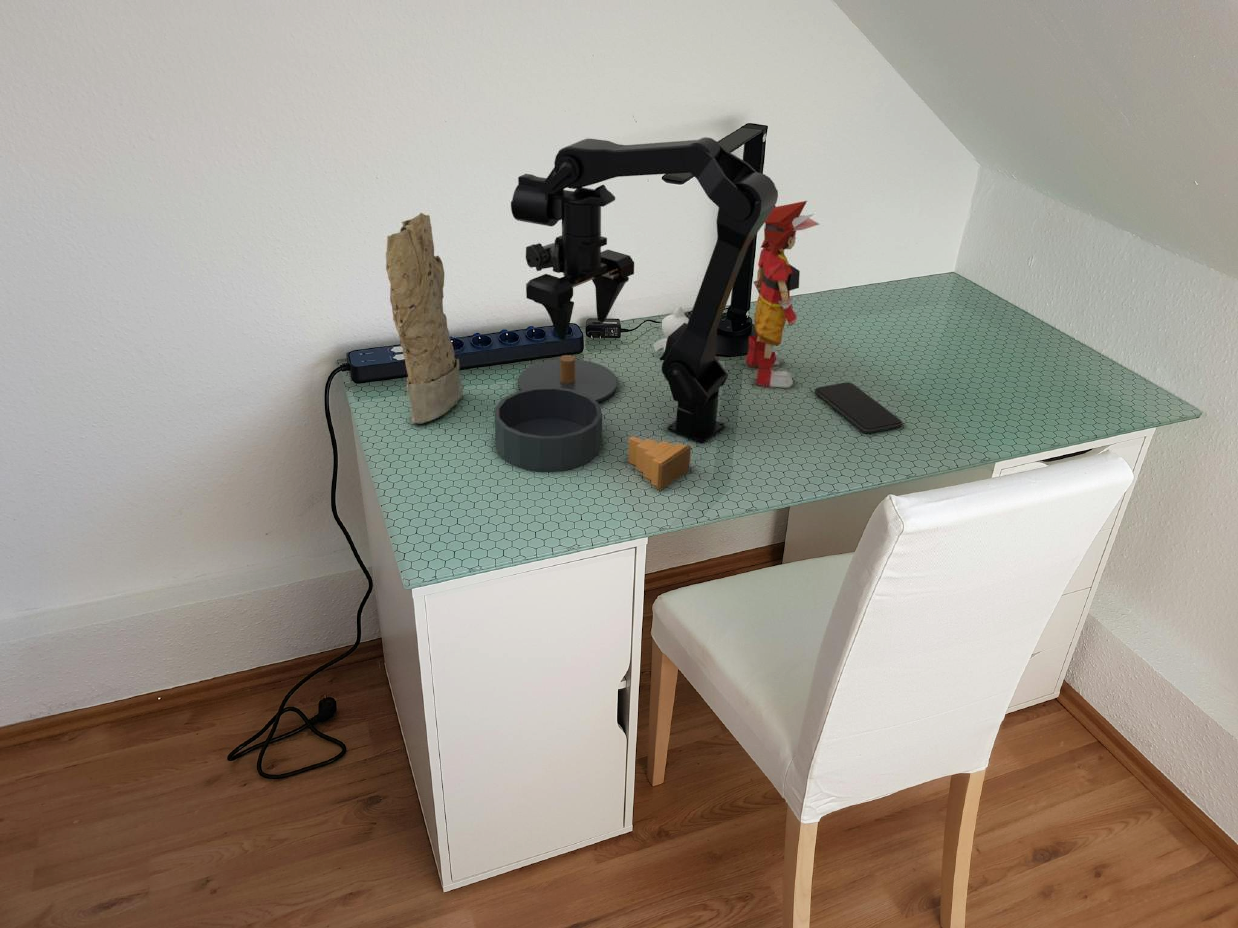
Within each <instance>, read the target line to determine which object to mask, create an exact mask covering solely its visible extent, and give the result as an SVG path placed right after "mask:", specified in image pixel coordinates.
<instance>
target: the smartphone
mask: <svg viewBox="0 0 1238 928" xmlns="http://www.w3.org/2000/svg"><path fill="white" fill-rule="evenodd" d="M814 393H815V394H816V395H817V396H818V397H819V398H820V399H822V400H823V401H824V402H825V403H826V404H828V406H830V407H832V409H834V410H835V411H836V412H838V413H839V414H840V415H841V416H842V417H843V418H845V419H846V420H847V421H848V422H850V423H851V424H853V425H854V426H855V427H856V428H857V429H859V430H860V431H861V432H862V433H864V434H865V433H866V434H873V433H877V432H882V431H886V430H891V429H897V428H900V427H902V426H903V424H904V423H903V421H902V420H901V419H900V418H899V417H898V416H897V415H895V414H894V413H892V412H891V411H890V410H889V409H887V408H886V407H884V406H883V405H882V404H880V403H879V402H878V401H876V400H875V399H874V398H873V397H871V396H870V395H869V394H868V393H866V392H865V391H864V390H862V389H861V388H860V387H858V386H857V385H856V384H854V383H853V382H849V381H846V382H845V381H844V382H839V383H834V384H829V385H824V386H823V385H822V386H818V387H815V389H814Z"/></svg>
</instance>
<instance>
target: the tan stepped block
mask: <svg viewBox="0 0 1238 928" xmlns="http://www.w3.org/2000/svg"><path fill="white" fill-rule="evenodd" d="M691 453H692V446H691V445H689V444H687V445H684V444H682V443H679V442H676V444H673V443H670V442H667V441H665V440H661V441H659V442H657V441H655V440H654V439H651V438H646V439H644V440H643V439H642V438H639V437H636V436H633V435H632V436H630V437H629V438H628V455H627V456H628V459H627V462H628V463H629V464H631V465H634V466H635V470H636V471H638V472H641V473H642V477H643V478H645V479H646V480H648V481H650V484H651V486H654V487H656V489H657V490H658V491H660V492H661V491H662V490H664V489H665V488H667V487H668V486H669V485H671V484H672V483H673V482H675V481H676V480H678V479H680V478H681V477H682V476H683V475H685V474H687V472H689V471H690V465H691Z"/></svg>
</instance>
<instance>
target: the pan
mask: <svg viewBox="0 0 1238 928" xmlns="http://www.w3.org/2000/svg"><path fill="white" fill-rule="evenodd" d="M493 411H494V435H495V436H494V437H495V449H496V452H497V454H498V455H499V457H500V458H501V459H503V460H504V461H505V462H506V463H509V465H512V466H515V467H517V468H520V469H523V470H528V471H532V472H533V471H534V472H541V473H546V472H548V473H549V472H550V473H551V472H552V473H553V472H563V471H568V470H573V469H576V468H579V467H581V466H584V465H586V464H587V463H590V462H591V461H592V460H593V459H595V458H596V456H598V454H599V453H600V450H601V448H602V445H603V411H602V407H601V404H600V403H599V402H596V401H595V400H594V399H593V398H592V397H591V396H589V395H586V394H584V393H581V392H579V391H576V390H572V389H566V388H559V387H536V388H531V389H526V390H522V391H520V390H518V391H515V392H513V393H511V394H509V395H507V396H505V397H503V398H501V400H500V401H499V402H498V403H497V405H496V406H495V407H494V410H493Z"/></svg>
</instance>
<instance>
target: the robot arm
mask: <svg viewBox="0 0 1238 928" xmlns="http://www.w3.org/2000/svg"><path fill="white" fill-rule="evenodd" d="M553 163H554V167H553V168H552V170H551V171H550V172H549V174H548V176H547V177H541V176H537V175H534V174H530V173H524V174H522V175H519V176H518V177H517V180H518V181H517V182H518V184H517V186H516V187H515V189H514V191H513V195H512V200H511V201H510V211H511V214H512V217H513V218H514V220H516V221H518V222H523V223H529V224H535V225H540V226H546V227H554V226H555V225H557V224H558V222H559V221H561V235H559V236H556V237H555V238H554V242H552V243H549V244H545V245H542V243H539V242H538V243H536V244H535V243H533V244H531V245H530V244H529V245H528V246H526V247H525V260H526V264H527V266H528V267H529V268H535V270H536V271H537V272H540V271H542V270H544V269H551V268H552V272H554V273H557V274H560V273H562V275H563V276H562V277H558V276H555V275H553V274H552V275H551V274H548V273H544V274H542V275H539V276H537V277H536V276H535V277H534V278H531V279H530V280H528V282H527V283H525V288H526V289H525V295H526V299H527V300H531V301H533V302H534V303H536V304H540V305H542V306H543V307H544V309H545V310H546V312H547V314H548V316H549V318H550V320H551V323H552V326H553V328H554V330H555V333H556V335H557V338H558V339H559V340H561V341H566V340H567V337H568V333H569V329H570V324H571V320H572V315H573V311H574V306H575V301H572V298H573V297H574V288H576V287H577V286H580V285H583V284H585V283H587V282H590V281H592V283H593V285H594V288H595V310H596V318H597V321H598V322H600V323H605V321H606V320H607V317H608V315H609V314H610V312H611V310H612V308H613V306H614V304H615V302H616V300H617V299H618V296H619V294H621V292H622V289H624V287H625V285H626V283H628V282H629V279H630V278H629V277H631V276H633V275H634V274H635V261H634V260H633V258H632V257H631V255H629V254H626V253H622V252H619V251H615V250H612V249H605V250H603V251H602V247H604V246H607V245H608V237H606V236H602V207H606V206H607V205H610V204H612V203H613V202H615V201H616V196H615V195H614V194H613V193H612V192H611V191H610V190H608V188H607V187H606V185H605V184H600V185H599V186H597V187H596V188H589V187H588V186H592V185H595V184H599V183H602V182H605V181H608V180H611V179H614V178H618V177H619V178H621V177H637V176H638V177H639V176H654V175H656V176H657V175H672V174H688V173H689V174H691V175H692V176H693V177H694V178H695V179H696V180H697V182H698V183H699V185H700V186H701V188H702V190H703V191H704V193H705V195H706V196H707V197H708V199H709V200H710V201H711V202H712V203H713V204H715V205H716V206H717V207H718V210H717V215H716V220H715V221H716V235H717V237H716V243H715V246H714V248H713V250H712V253H711V256H710V259H709V262H708V265H707V268H706V271H705V273H704V276H703V278H702V281H701V285H700V286H699V290H698V292H697V295H696V298H695V301H694V304H693V306H692V309H691V312H690V315H689V318H688V319H689V320H688V323H687V324H686V323H683V324H682V325H681V326H680V327H679V328H677V329H676V330H675V331H674V332H673V333H672V334H670V335H669V336H668V339H667V342H666V348H665V352H664V351H663V354H662V355H661V357H659V361H662V363H661V373H662V374H663V376H664V378H665V380H666V381H667V382H668V386H669V389H670V393H671V396H672V399H673V401H674V402H677V407H676V415H675V416H676V417H675V421H673V422H672V423H669V424H668V425H667V430H668V431H670V432H673V433H675V434H678V435H681V436H683V437H685V438H688V439H689V440H692V441H695V442H698V443H704V442H706V441H708V440H709V439H711V438H712V437H713V436H715V435H716V434H718V433H719V432H721V431H722V430H724V428H725V424H724V423H722V422H720V421H717V418H718V417H717V416H718V405H719V395H720V388H722V387H723V386H724V385H725V383H726V381H727V379H728V377H729V374H728V372H727V371H726V370H725V368H724V367H723V365H722V364H721V363H720V362H719V360H718V359H717V358H716V355H717V349H718V328H719V324H720V322H721V319H722V316H723V314H724V312H725V309H726V306H727V304H728V301H729V298H730V296H731V293H732V291H733V288H734V285H735V284H736V283H735V282H736V281H737V277H738V275H739V272H740V270H741V267H742V264H743V261H744V259H745V256H746V254H747V251H748V249H749V246H750V244H751V243H752V241H753V239H754V238H755V237H756V235H757V234H758V233H759V231H760V230H761V228H762V227H763V226H764V225H765V221H766V219H767V218H768V216H769V214H770V213H771V211H772V210H773V208H774V206H776V205H777V202H778V198H779V191H778V189H777V187H776V184H775V183H774V181H773V180H772V178H771V177H769V176H767V175H766V174H765V173H762V172H758V171H757V170H756V169H754V168H753V166H752V165H750V163H748V162H747V161H745V160H743V159H741V158H740V157H738V156H736V155H735V154H733V153H732V152H730V151H728V150H727V149H726V148H724V146H722V144H720V142H718V141H717V140H715V139H714V138H711V137H706V136H704V137H701V138H699V139H691V140H677V141H663V142H651V143H650V142H649V143H648V142H647V143H637V144H635V143H634V144H621V143H616V142H613V141H610V140H606V139H598V138H584V139H581V140H578V141H577V142H574V143H572V144H570V145H569V144H568V145H567V146H565V147H563V148H561V149H559V150H558V152H557V154H556V155H555V158H554V162H553ZM567 189H572V190H567Z"/></svg>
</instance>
